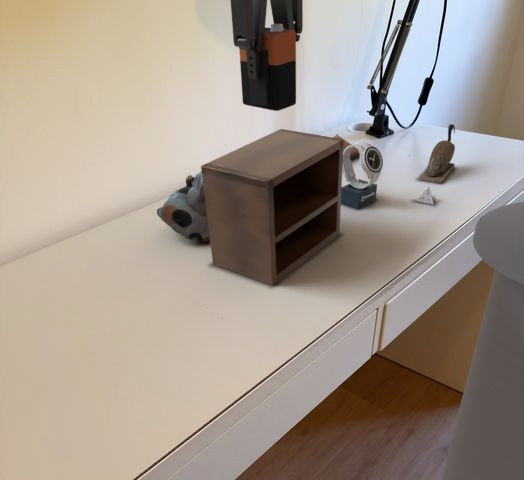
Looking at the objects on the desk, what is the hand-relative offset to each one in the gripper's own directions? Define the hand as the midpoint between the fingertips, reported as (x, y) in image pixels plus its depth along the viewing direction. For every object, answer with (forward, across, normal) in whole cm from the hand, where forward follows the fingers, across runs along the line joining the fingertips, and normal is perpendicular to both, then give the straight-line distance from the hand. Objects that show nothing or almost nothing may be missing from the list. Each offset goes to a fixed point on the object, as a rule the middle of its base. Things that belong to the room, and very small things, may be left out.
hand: (272, 98), depth 74 cm
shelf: (+24, -1, 0) cm, 24 cm away
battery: (+1, 0, -1) cm, 1 cm away
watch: (+24, -25, +2) cm, 34 cm away
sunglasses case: (+24, -41, -14) cm, 50 cm away
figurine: (+24, -48, +9) cm, 54 cm away
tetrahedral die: (+24, -32, +13) cm, 42 cm away
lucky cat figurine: (+24, -1, -16) cm, 29 cm away
